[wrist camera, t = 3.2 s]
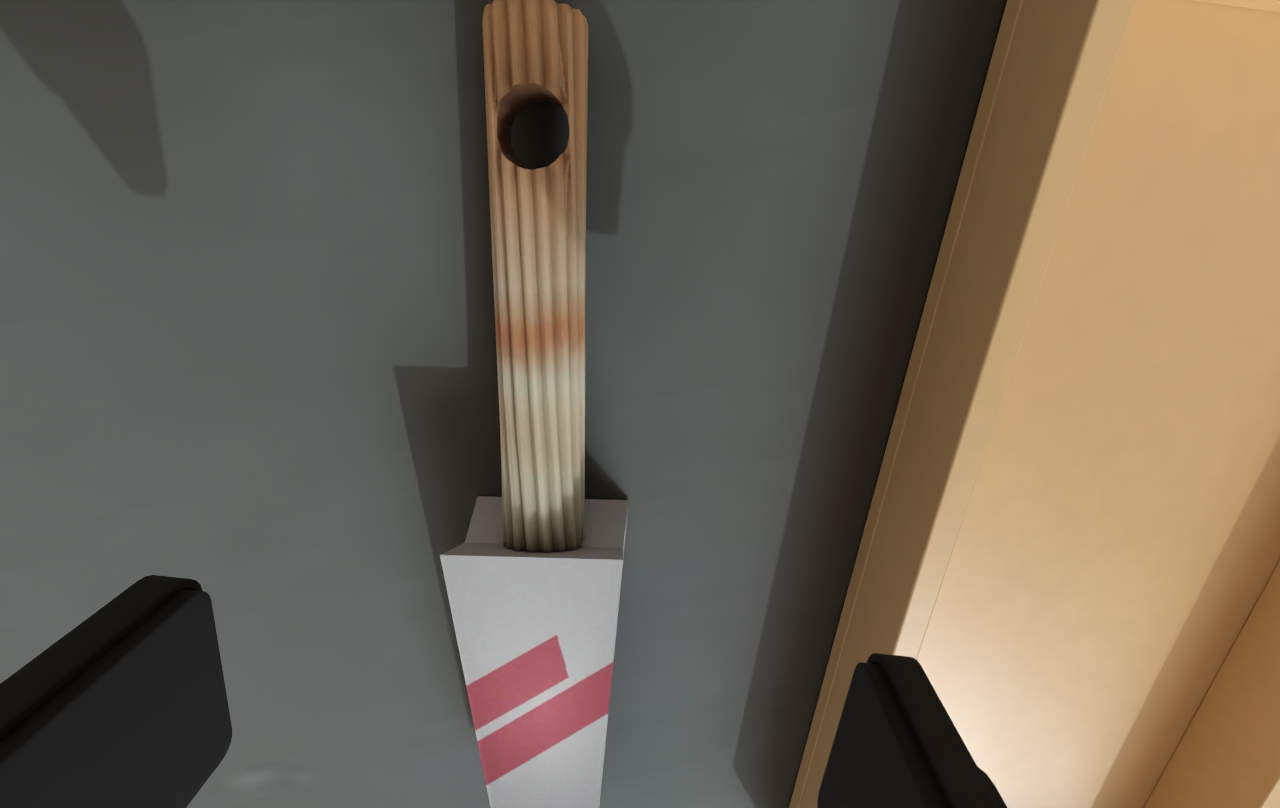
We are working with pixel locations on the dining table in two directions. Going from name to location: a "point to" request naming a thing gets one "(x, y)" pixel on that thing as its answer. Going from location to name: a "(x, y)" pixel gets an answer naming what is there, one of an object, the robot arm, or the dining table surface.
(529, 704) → the folding fan
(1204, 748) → the brush tray
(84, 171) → the dining table surface
